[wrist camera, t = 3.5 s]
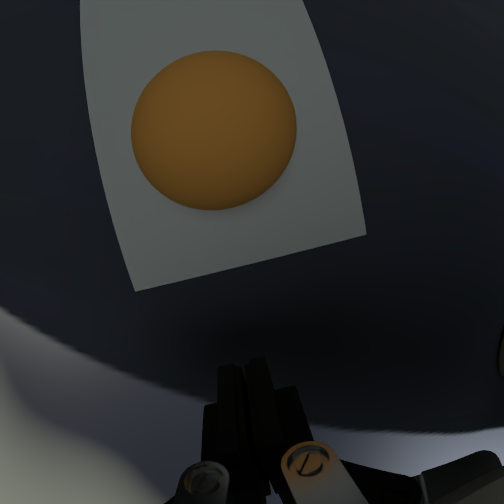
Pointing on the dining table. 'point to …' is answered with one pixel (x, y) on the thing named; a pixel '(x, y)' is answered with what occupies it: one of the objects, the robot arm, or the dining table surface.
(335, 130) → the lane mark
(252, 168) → the ball
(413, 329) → the dining table surface
